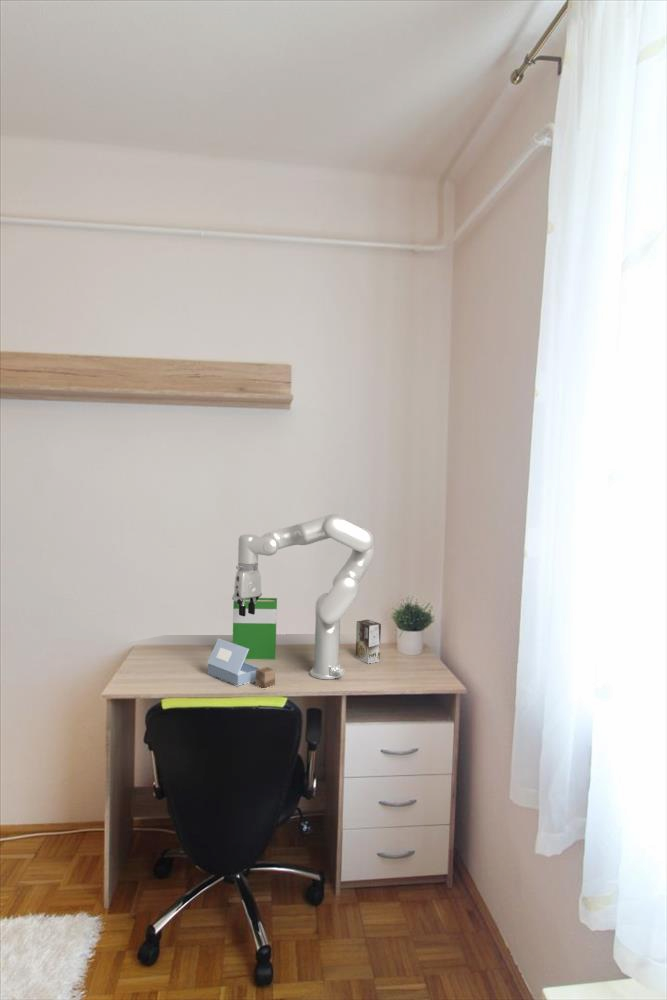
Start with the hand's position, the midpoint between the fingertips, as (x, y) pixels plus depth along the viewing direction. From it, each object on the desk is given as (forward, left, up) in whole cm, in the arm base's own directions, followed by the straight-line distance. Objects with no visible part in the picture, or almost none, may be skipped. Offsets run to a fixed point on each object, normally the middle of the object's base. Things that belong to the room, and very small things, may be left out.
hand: (246, 614), depth 255 cm
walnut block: (-15, +3, -23) cm, 28 cm away
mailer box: (0, +5, -23) cm, 24 cm away
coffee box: (-20, -49, -23) cm, 58 cm away
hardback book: (+15, -17, -24) cm, 33 cm away
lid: (0, +8, -15) cm, 17 cm away
